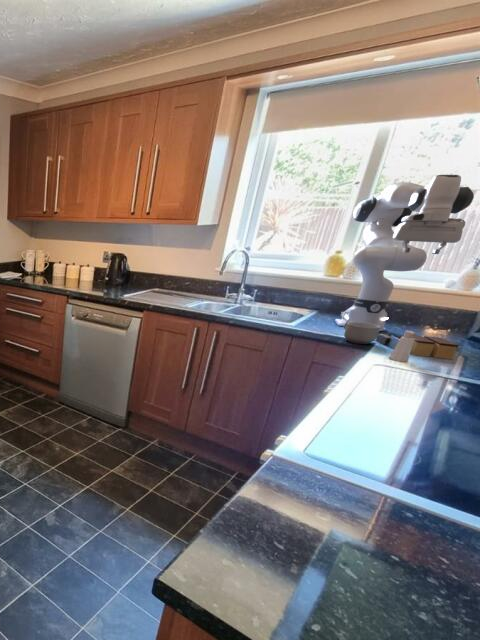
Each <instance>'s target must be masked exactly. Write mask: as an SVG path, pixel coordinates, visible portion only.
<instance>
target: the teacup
mask: <svg viewBox="0 0 480 640" xmlns="http://www.w3.org/2000/svg"><path fill="white" fill-rule="evenodd" d="M343 328H344V336H343V337H344V339H346V340H347V341H348V342H350V343H352V344H359V345H367V344H369V343H372V342H374V341H376V339H377V336H378V334H379V332H380V331H379V329H380V328H381V327H380V326H379V325H376V324H371V323H364V322H352V321H348V322H346V323H345V325H344V326H343Z"/></svg>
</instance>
